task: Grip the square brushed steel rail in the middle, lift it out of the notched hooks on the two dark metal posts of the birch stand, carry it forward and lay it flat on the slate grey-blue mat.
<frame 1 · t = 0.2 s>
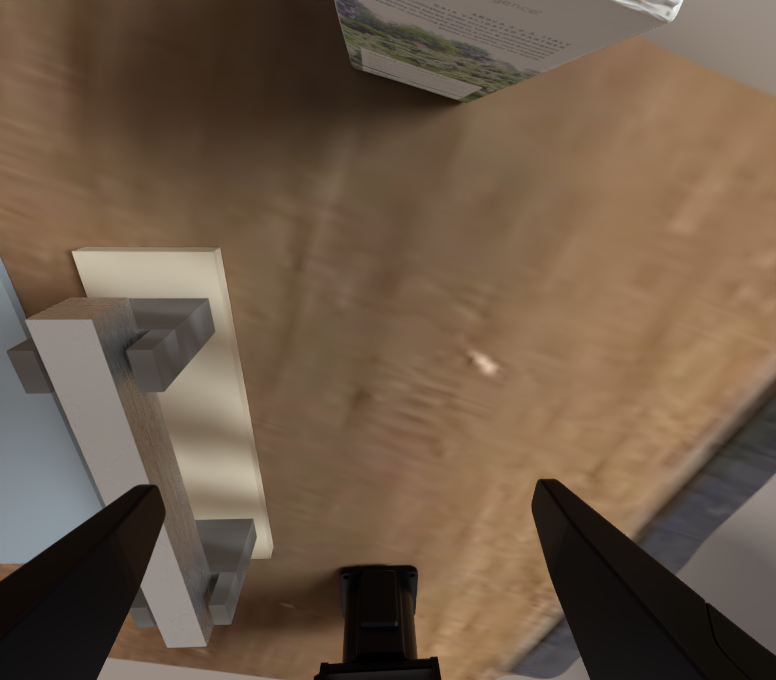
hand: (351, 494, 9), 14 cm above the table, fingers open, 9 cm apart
rail: (162, 486, 21), point 5 cm above the table, touching rail stand
rail stand: (198, 428, 26), on the table
syrup box: (426, 16, 17), on the table
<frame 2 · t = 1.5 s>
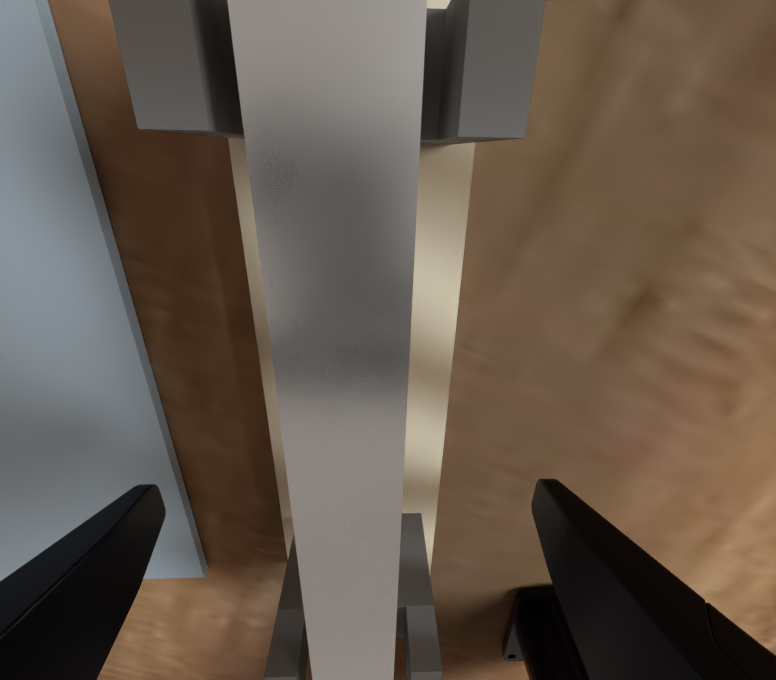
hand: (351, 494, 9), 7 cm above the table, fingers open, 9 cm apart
rail: (352, 444, 11), point 5 cm above the table, touching rail stand
rail stand: (357, 357, 15), on the table
mat: (12, 357, 15), on the table
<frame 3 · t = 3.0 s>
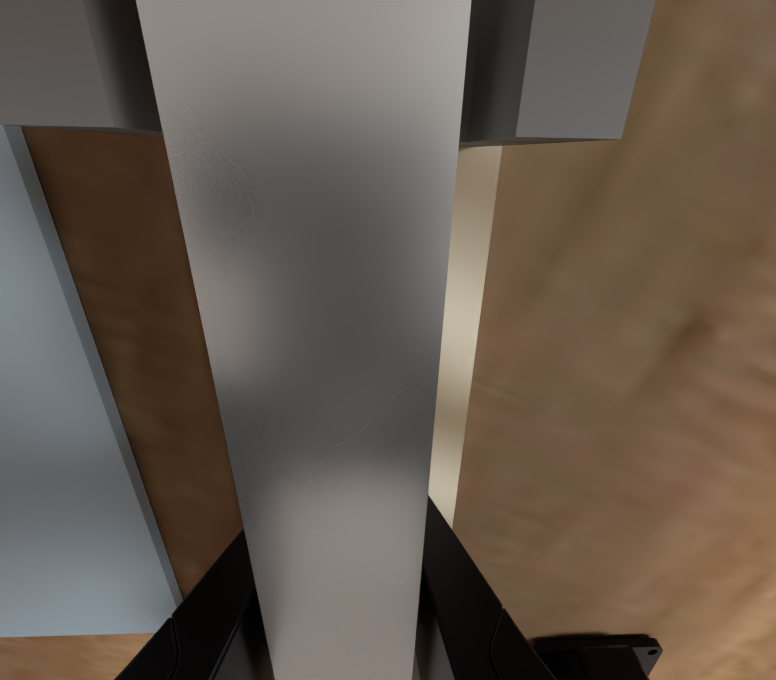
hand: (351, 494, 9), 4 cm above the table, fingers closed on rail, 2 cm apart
rail: (349, 521, 9), point 5 cm above the table, touching gripper, rail stand
rail stand: (357, 394, 13), on the table
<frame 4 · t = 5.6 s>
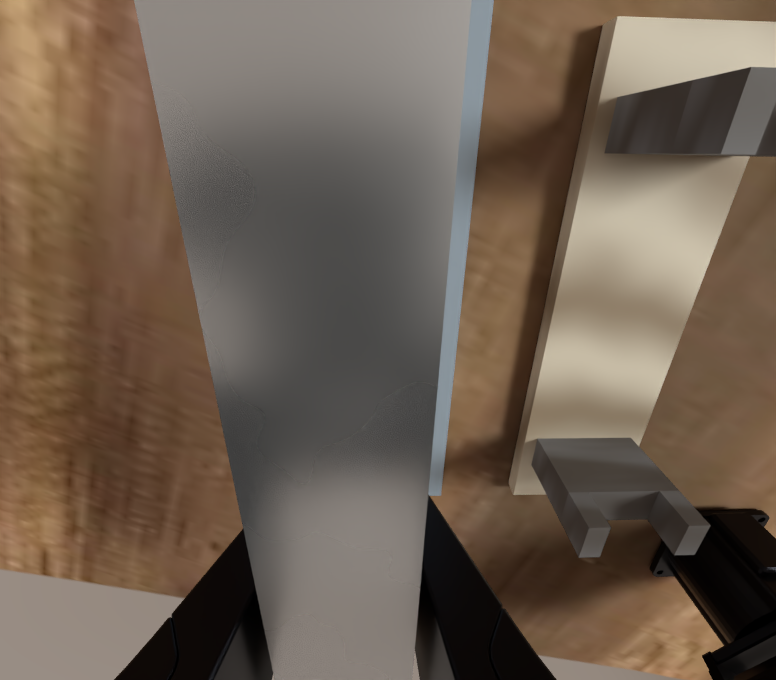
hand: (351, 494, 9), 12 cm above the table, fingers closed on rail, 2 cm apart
rail: (349, 521, 9), point 13 cm above the table, touching gripper
rail stand: (608, 312, 20), on the table
mat: (361, 311, 20), on the table
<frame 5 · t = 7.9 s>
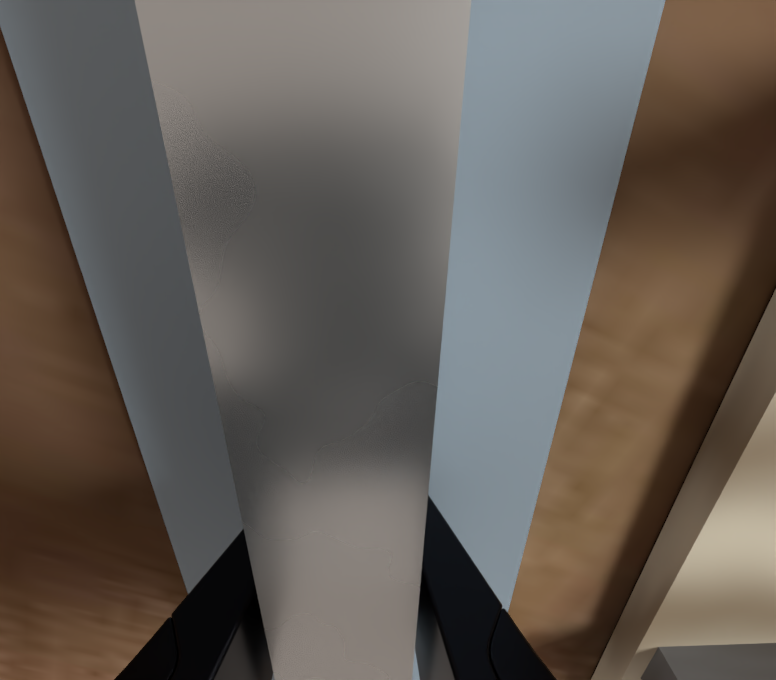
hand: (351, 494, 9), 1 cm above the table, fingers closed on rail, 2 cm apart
rail: (349, 520, 9), point 2 cm above the table, touching gripper
mat: (351, 458, 10), on the table
when the fingers open (1 cm above the table, at t = 8.1 s): rail drops 1 cm, resting on mat.
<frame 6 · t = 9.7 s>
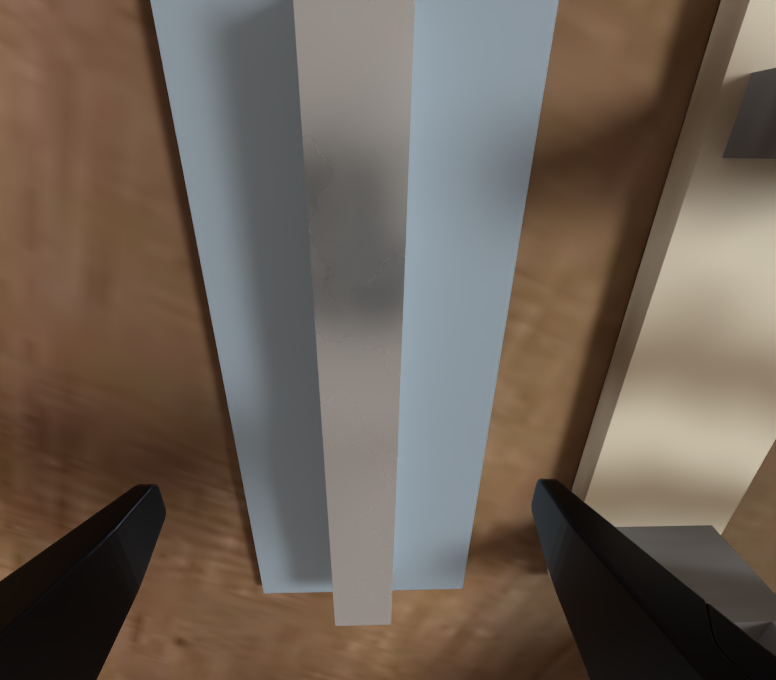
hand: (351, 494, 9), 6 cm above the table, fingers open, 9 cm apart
rail: (362, 377, 14), resting on mat
rail stand: (695, 370, 15), on the table
mat: (362, 371, 15), on the table
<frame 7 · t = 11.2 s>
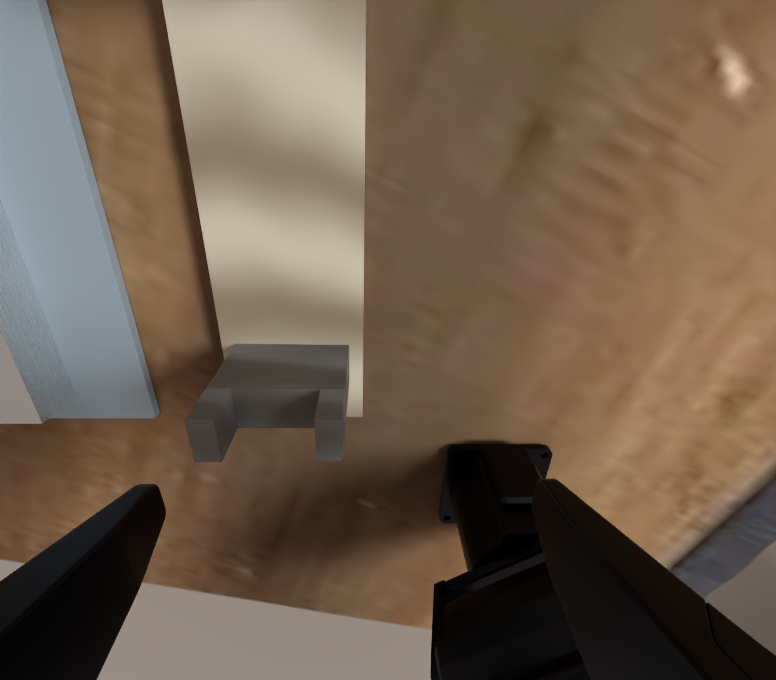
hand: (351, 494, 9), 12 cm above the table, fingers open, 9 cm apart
rail stand: (284, 181, 17), on the table
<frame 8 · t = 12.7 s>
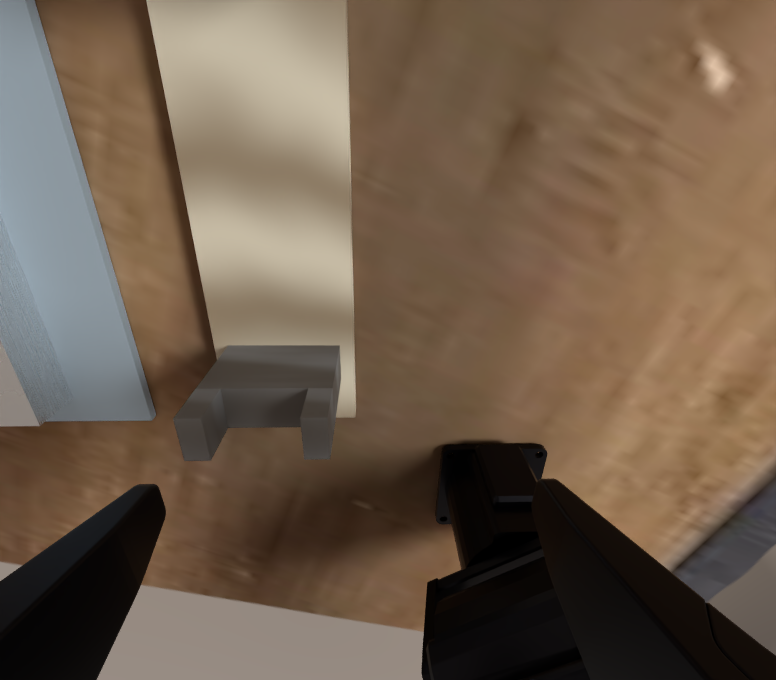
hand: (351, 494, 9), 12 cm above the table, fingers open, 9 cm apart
rail stand: (272, 184, 17), on the table
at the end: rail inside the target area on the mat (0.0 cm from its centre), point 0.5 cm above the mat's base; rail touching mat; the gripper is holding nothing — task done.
